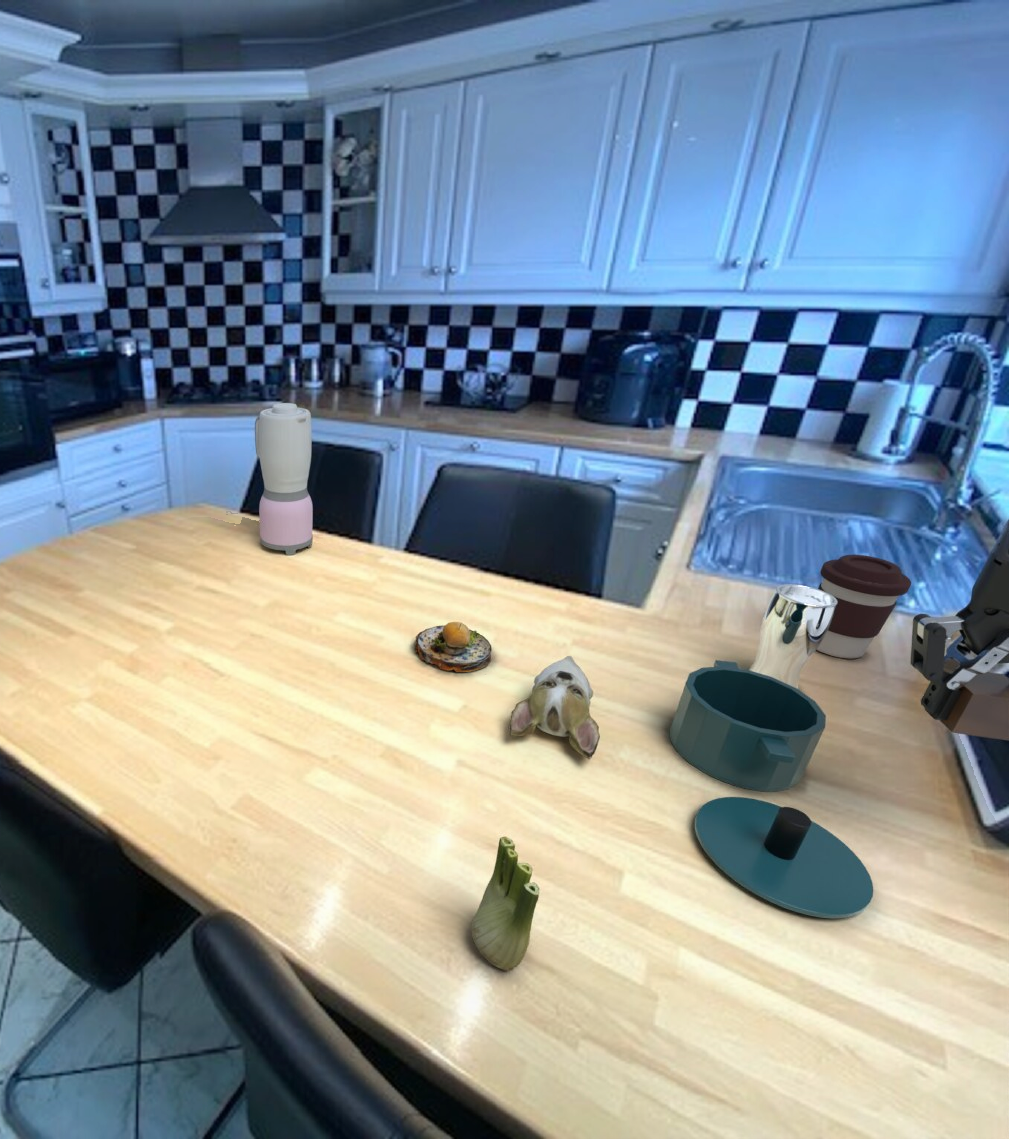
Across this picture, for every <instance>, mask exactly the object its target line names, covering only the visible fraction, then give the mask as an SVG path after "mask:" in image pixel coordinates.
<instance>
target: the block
mask: <svg viewBox="0 0 1009 1139" xmlns="http://www.w3.org/2000/svg"><path fill="white" fill-rule="evenodd" d="M956 669H957V668H956ZM956 669H955V670H956ZM955 670H954V671H955ZM954 671H953V672H954ZM960 689H961V690H962V691H963V692H962V693H961V695H960V697H959V699H958V701H957V703H956V704H955V706H954V708H953V710H952V712H951V713H950V715H949V717H948V719H947V720H946V721H943V720H939V721H940V722H941V723H942V724H943V726H944V727H946V728H947V729H948V730H949V731H950V733H952V734H959V735H966V736H974V737H981V738H986V739H987V738H988V739H996V740H1002V741H1009V677H1008V676H1006V675H1005V674H1004V673H998V672H991V671H987V672H986V673H984V674H977V675H976V676H974V677H973V678H972V679H971V680H970V681H969V682H968V683H967V684H965V685H964V686H963V687H962V688H960Z"/></svg>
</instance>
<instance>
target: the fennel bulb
mask: <svg viewBox="0 0 1009 1139" xmlns="http://www.w3.org/2000/svg"><path fill="white" fill-rule="evenodd" d="M515 849H516V844H515V843H514V841H513V839H511V838H509V837H508V836H502V837H499V841H498V846H497V852H496V859H495V863H494V867H493V868H494V869H493V872H492V874H491V878H490V879H489V881H488V883H487V885H486V888H485V890H484V892H483V895H482V898H481V901H480V903H479V905H478V908H477V911H476V912H475V914H474V916H473V918H472V920H471V928H470V929H471V937H472V939H473V943H474V945H475V947H476V948H477V950H478V952H479V953H480V954H481V956H482V957H483V958H484V959H486V960H487V962H488V963H490V964H491V965H492V966H494V967H496V968H498V969H501V970H504V971H506V972H511V971H513V970H515V969H516V968H517V967H518V966H519V965H520V964H521V963H522V962H523V960H524V958H525V956H526V953H527V950H528V948H529V945H530V940H531V932H532V931H531V930H532V926H533V925H532V924H533V918H534V914H535V909H536V906H537V904H538V901H539V897H540V887H539V886H538V884H537V883H536V882H535V881H534V882H532V881H531V878H532V876H533V867H532V866H531V865H530V864H529V863H528V862H523V861H522V862H519V854H518V852H517V851H516V850H515Z"/></svg>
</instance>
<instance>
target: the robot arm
mask: <svg viewBox="0 0 1009 1139" xmlns="http://www.w3.org/2000/svg"><path fill="white" fill-rule="evenodd" d="M956 632H959V634H960V635H959V636H958V637H957V638H956V639H954V641H953V636H954V634H955V633H956ZM951 642H952V643H951ZM946 643H951V644H950V645H949V646H948V647H947V648H946ZM971 652H972V653H973V654H975V656H976V657H974V656H973V655H972V654H971ZM945 653H946V654H945ZM997 664H1009V518H1008V519H1007V521H1006V522H1005V524H1004V525H1003V527H1002V530H1001V531H1000V533H999V535H998V538H997V540H996V541H995V544H994V545H993V547H992V549H991V551H990V553H989V554H988V556H987V559H986V561H985V563H984V564H983V567H982V568H981V569H980V572H979V573H978V576H977V577H976V580H975V581H974V584H973V585H972V588H971V597H970V601H969V603H968V604H967V605H966V606H965V607H963V608H961V609H960V610H959V611H957V613H956V614H955V615H954V616H942V617H932V616H930V615H929V614H927V613H918V614H917V615H915V616H914V617H913V618H912V631H911V646H910V665H911V666H912V667H913V668H914V669H915V670H917V671H918V672H919V673H920V674H921V676H923V677H924V679H925V680H927V681H929V683H928V685H927V687H926V689H925V691H924V693H923V695H922V696H921V699H920V705H921V706H922V707H923V708H924V711H925V712H926V713H927V714H928V715H929V716H930V717H931V718H932V719H933V720H935V721H936V720H937V721H940V720H943V721H946V720H947V719H948V717H949V715H950V713H951V712H952V710H953V708H954V706H955V704H956V703H957V701H958V699H959V697H960V695H961V693H962V692H963V691H962V690H961V689H960V688H962V687H963V686H964V685H965V684H967V683H968V682H969V681H970V680H971V679H972V678H973V677H974V676H976V675H977V674H984V673H986V672H990V670H991V669H992V668H994V667H995V666H996V665H997ZM955 669H956V670H955ZM954 670H955V671H954ZM953 671H954V672H953Z"/></svg>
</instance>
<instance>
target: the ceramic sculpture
mask: <svg viewBox="0 0 1009 1139" xmlns="http://www.w3.org/2000/svg"><path fill="white" fill-rule="evenodd" d="M573 658H574V657H572V655H568V656H566V657H564V658H562V659H561V660H558V661H556V662H553V663H551V664H550V665H548V666H546V668H545V667H544V669H543V670H542V671H541V672H540V673H539V674H537V675H536V676H535V677H534V679H533V683H534V685H533V686H532V690H531V693H530V694H529V697H527V699H524V700H520V701H519V702H517V703H516V704H515V707H514V709H512V710H511V713H510V719H509V728H508V729H509V735H510V736H511V737H513V738H514V737H522V736H527V735H531V734H533V733H534V732H535V731H536V728H538V729H539V730H541V732H544V733H547V734H549V735H552V736H557V737H569V739H568V740H569V744H570V746H571V747H572V748H573V749H574V750H575V751H577V752H578V753H579V754H580V755H582V756H583V757H584V758H586V759H587V760H591V759H592V757H593V755H595V753H596V750H597V747H598V745H599V742H600V739H601V735H600V732H599V728H600V727H599V725H598V723H597V722H596V720H595V719H594V718H593V717H592V716H591V712H590V706H591V699H592V698H593V696H594V690H593V689H592V687H591V684H590V681H589V679H588V677H587V675H586V674H585V672H584V671H583V669H582V668H581V667H580V666H579V665H578V664H577V662H575V660H574V659H573Z"/></svg>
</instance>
